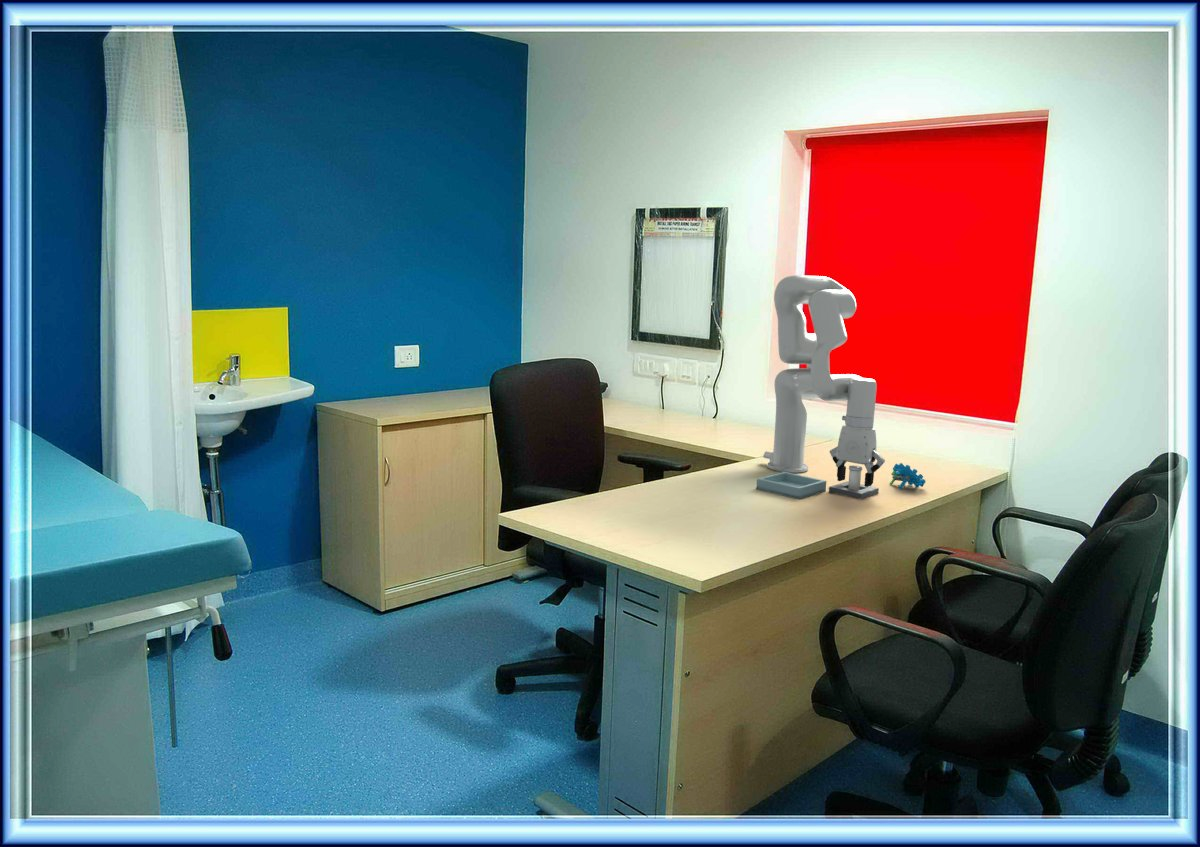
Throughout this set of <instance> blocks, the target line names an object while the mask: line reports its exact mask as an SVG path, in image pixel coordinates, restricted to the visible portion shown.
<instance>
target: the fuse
mask: <svg viewBox="0 0 1200 847" xmlns="http://www.w3.org/2000/svg"><path fill="white" fill-rule="evenodd" d="M848 470H849V472H848V473H849V474H848V482H849V483H848V489H852V490H857V491H859V490H860V484H861V480H862V479H861V478H862V471H863V466H861V465H849V467H848Z"/></svg>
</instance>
